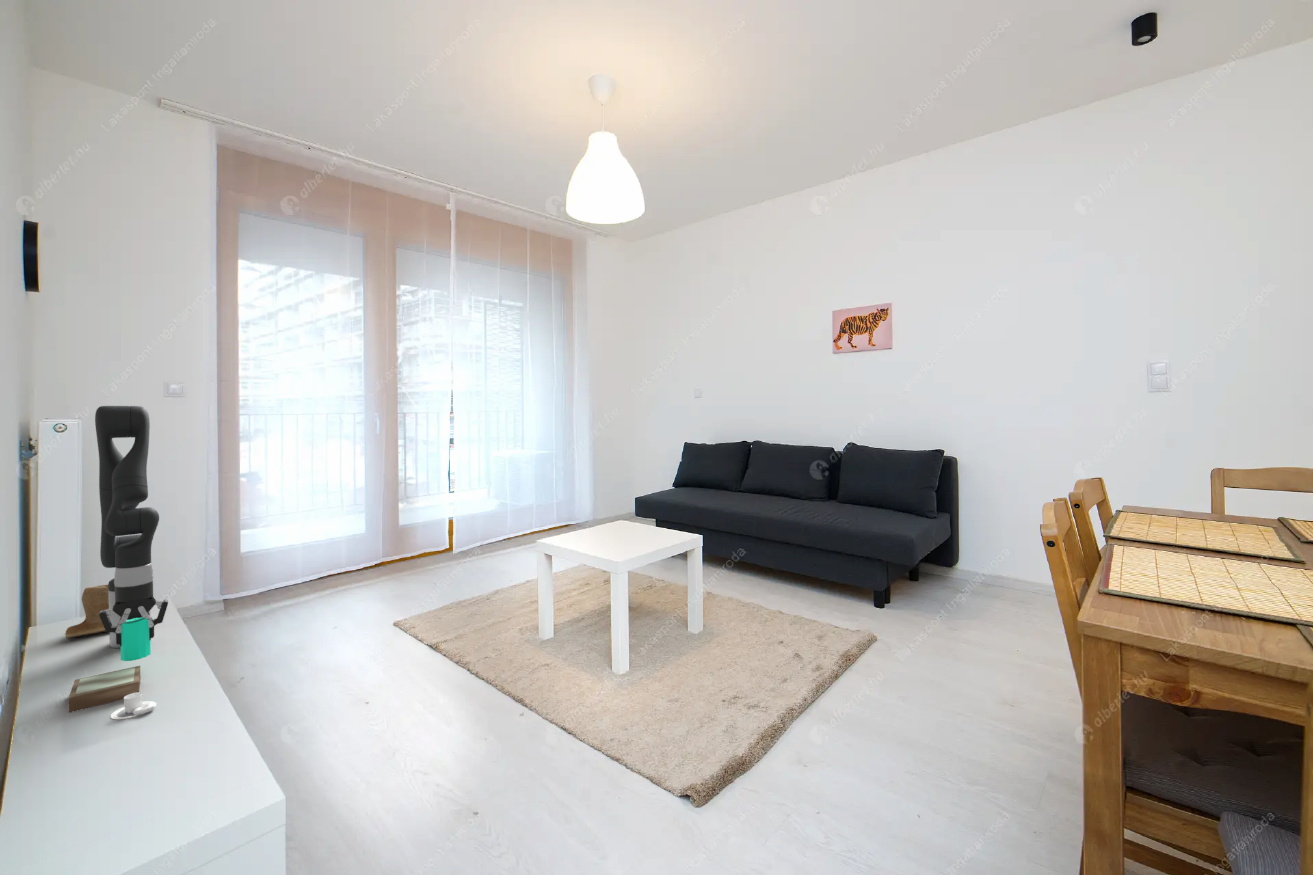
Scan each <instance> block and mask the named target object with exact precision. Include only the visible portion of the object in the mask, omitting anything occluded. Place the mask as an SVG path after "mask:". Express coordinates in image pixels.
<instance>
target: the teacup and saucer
mask: <svg viewBox="0 0 1313 875" xmlns="http://www.w3.org/2000/svg"><path fill="white" fill-rule="evenodd" d="M142 698H143V693H142V692H140V691H139V692H137V693H132V694H129V695H127V696H125V697H124V699H123V703H124V704H123V705H124V706H123V707H119V708H118V709H115V711H113V712H112V713H110V716H109V718H110V719H112V720H119V721H120V720H127V719H130V718H131V719H132V718H135V717H139V716H142V715H144V714H147V713H149V712H151V711H152V710H154V709H155V708H156V707H157V702H155V701H151V700H150V701H142ZM123 710H125V712H126V713H127V714H131V713H132V714H133V715H130V716H118V714H119V713H120V712H122V711H123Z"/></svg>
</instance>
